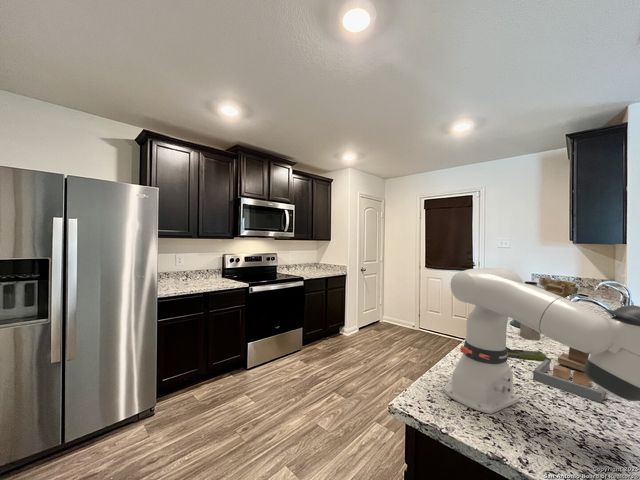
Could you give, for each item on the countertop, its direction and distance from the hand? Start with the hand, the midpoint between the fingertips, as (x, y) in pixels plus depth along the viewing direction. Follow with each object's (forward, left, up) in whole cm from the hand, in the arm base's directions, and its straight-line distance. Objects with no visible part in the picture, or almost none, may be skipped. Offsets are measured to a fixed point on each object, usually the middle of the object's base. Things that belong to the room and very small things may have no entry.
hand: (577, 344), depth 101 cm
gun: (-3, +19, -10) cm, 21 cm away
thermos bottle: (+25, +21, -9) cm, 34 cm away
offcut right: (-14, -3, -9) cm, 17 cm away
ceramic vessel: (+136, +30, -9) cm, 140 cm away
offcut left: (-14, +2, -9) cm, 17 cm away
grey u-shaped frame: (-17, -1, -9) cm, 19 cm away
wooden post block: (0, 0, -8) cm, 8 cm away
